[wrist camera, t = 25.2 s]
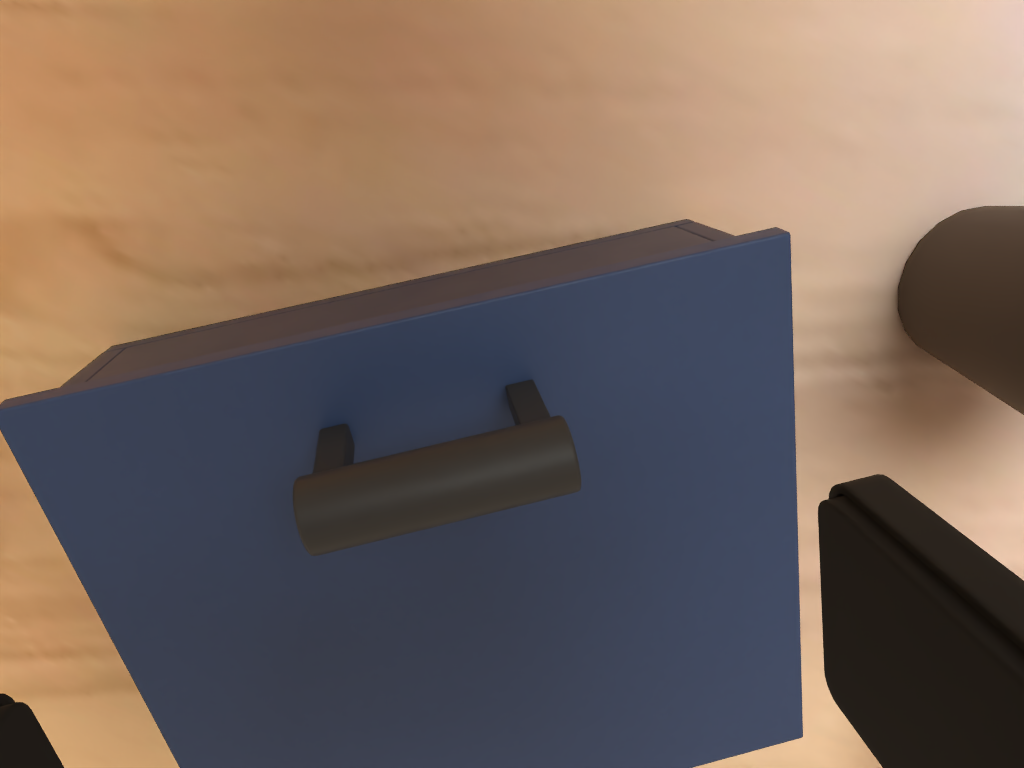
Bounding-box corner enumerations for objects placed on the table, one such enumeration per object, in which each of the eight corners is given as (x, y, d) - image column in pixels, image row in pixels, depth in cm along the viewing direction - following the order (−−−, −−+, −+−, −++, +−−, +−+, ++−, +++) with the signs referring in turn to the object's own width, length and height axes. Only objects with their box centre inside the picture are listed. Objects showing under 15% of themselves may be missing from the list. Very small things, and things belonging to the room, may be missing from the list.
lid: (3, 399, 17) (-122, 512, 13) (777, 225, 18) (897, 277, 14) (247, 869, 24) (219, 1043, 20) (793, 721, 25) (876, 854, 21)
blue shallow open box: (109, 346, 23) (38, 402, 18) (688, 218, 24) (756, 241, 20) (271, 749, 29) (248, 868, 24) (732, 628, 30) (792, 720, 25)
